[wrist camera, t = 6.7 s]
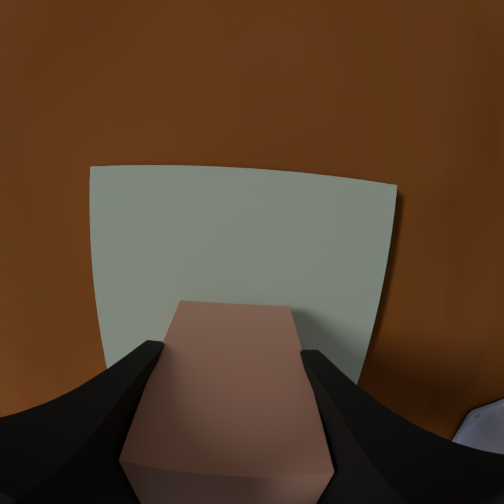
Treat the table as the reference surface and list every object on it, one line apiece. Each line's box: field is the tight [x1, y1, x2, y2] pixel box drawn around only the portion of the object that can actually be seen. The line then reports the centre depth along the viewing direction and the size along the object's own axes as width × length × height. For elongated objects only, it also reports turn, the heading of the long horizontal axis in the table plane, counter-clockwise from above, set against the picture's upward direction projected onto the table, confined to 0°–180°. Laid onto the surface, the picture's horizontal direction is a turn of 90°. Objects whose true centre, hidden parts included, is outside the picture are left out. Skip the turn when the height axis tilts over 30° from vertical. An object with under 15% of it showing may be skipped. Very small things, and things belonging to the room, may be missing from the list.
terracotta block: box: [119, 300, 334, 504], centre depth 8 cm, size 4×4×7 cm
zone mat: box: [90, 165, 397, 385], centre depth 12 cm, size 12×12×1 cm
